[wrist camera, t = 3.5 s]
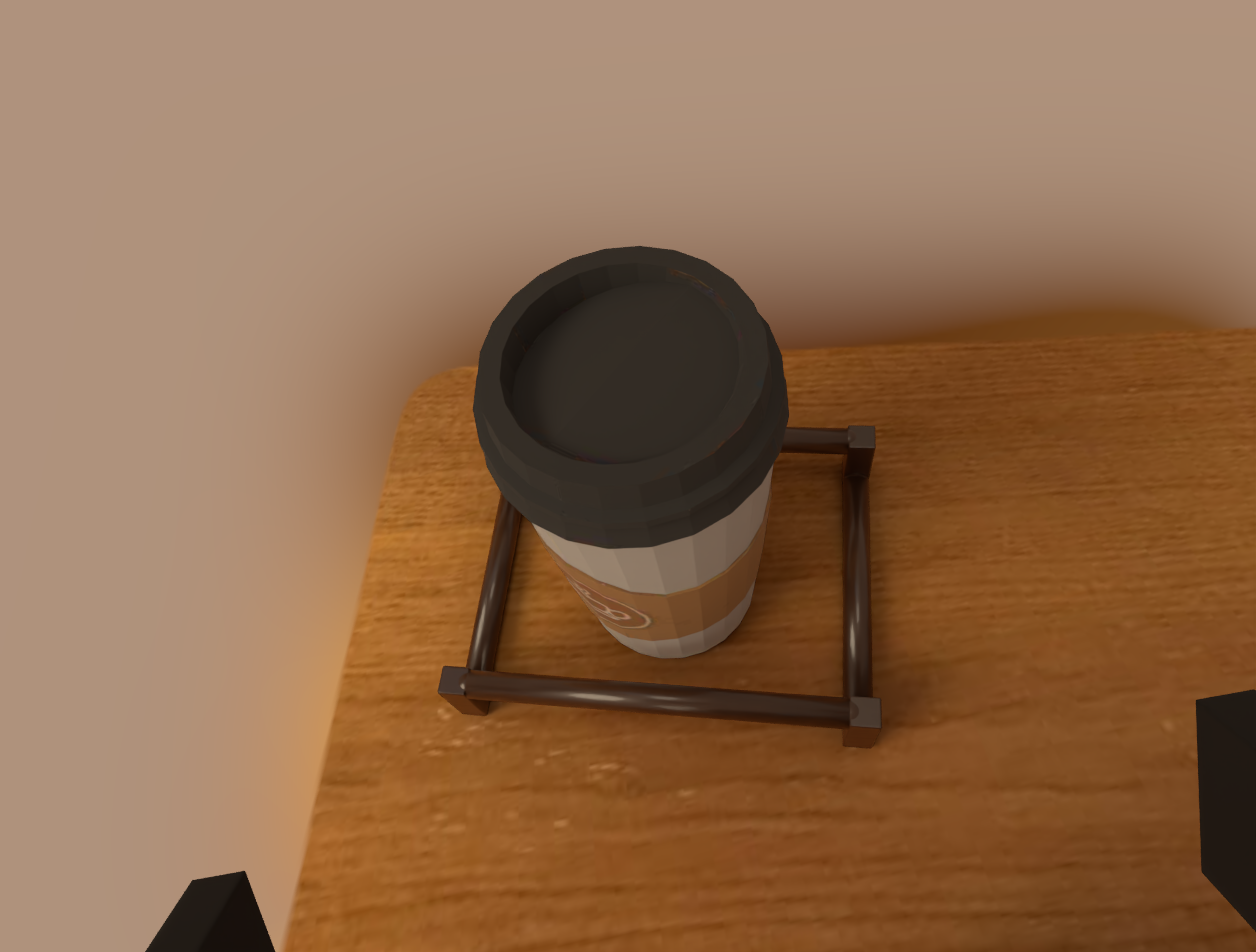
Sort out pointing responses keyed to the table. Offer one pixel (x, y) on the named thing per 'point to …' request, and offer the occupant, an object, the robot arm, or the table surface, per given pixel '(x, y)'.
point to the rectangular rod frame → (851, 713)
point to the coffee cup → (639, 437)
